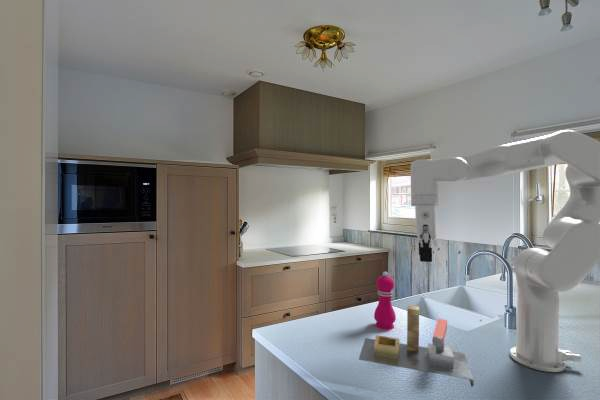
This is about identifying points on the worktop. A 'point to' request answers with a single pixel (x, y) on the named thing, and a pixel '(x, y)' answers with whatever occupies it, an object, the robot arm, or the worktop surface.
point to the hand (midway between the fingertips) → (425, 258)
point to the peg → (413, 328)
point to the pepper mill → (385, 303)
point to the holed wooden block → (386, 347)
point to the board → (423, 359)
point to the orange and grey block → (439, 334)
